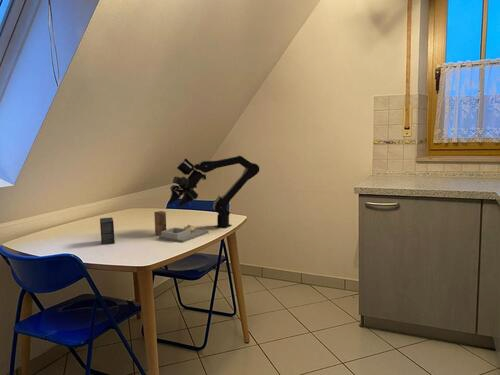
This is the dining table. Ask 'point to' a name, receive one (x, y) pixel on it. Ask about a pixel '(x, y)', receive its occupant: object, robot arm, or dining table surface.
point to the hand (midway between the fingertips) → (173, 205)
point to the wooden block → (160, 222)
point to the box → (107, 230)
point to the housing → (182, 234)
